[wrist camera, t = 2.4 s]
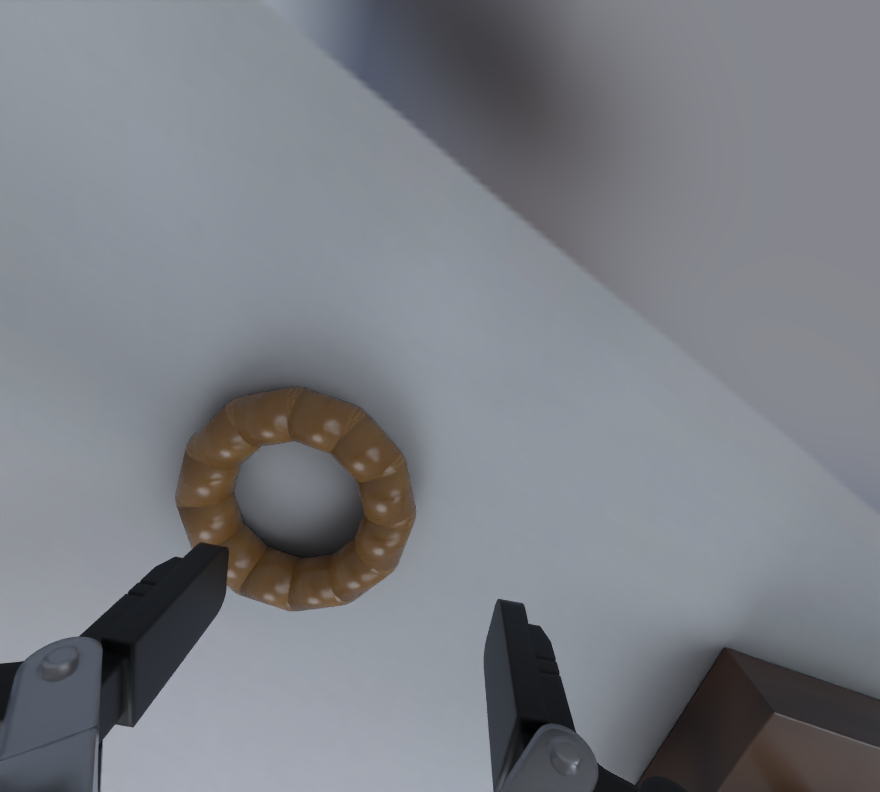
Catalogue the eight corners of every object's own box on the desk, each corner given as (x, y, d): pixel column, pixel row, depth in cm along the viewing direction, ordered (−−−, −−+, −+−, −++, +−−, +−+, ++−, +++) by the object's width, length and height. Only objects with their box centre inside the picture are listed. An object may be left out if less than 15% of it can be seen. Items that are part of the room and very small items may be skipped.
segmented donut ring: (224, 351, 16) (193, 359, 15) (446, 430, 17) (445, 448, 15) (178, 547, 19) (146, 576, 17) (376, 613, 19) (367, 649, 17)
